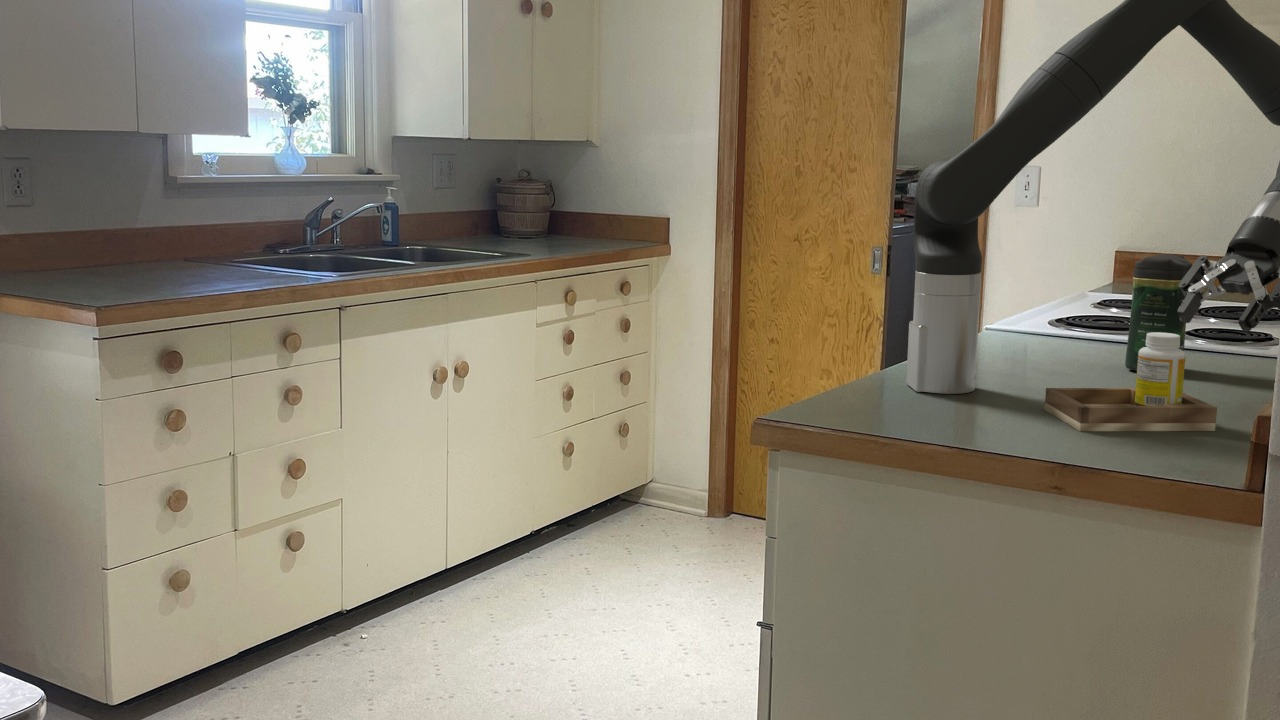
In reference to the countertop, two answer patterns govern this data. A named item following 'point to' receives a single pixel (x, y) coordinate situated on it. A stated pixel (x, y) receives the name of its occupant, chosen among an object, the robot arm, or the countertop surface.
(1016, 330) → the countertop surface
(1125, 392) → the shallow wooden tray
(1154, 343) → the supplement bottle
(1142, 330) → the coffee jar
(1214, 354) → the countertop surface
